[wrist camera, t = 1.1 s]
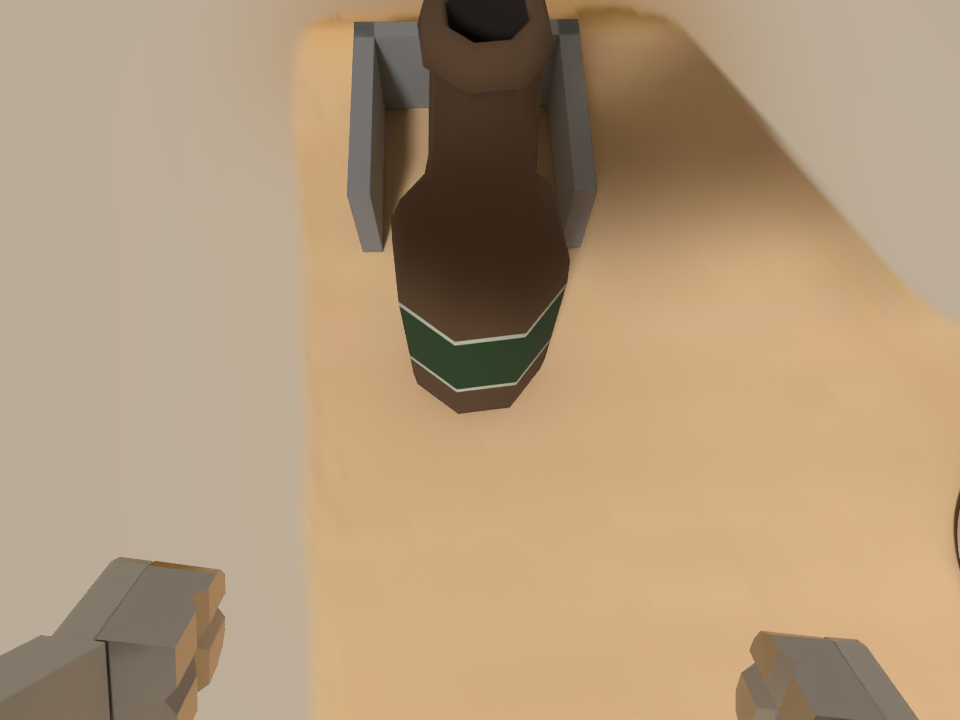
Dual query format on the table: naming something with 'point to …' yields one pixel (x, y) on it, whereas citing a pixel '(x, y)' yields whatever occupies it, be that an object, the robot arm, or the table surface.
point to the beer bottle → (481, 208)
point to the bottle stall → (405, 84)
